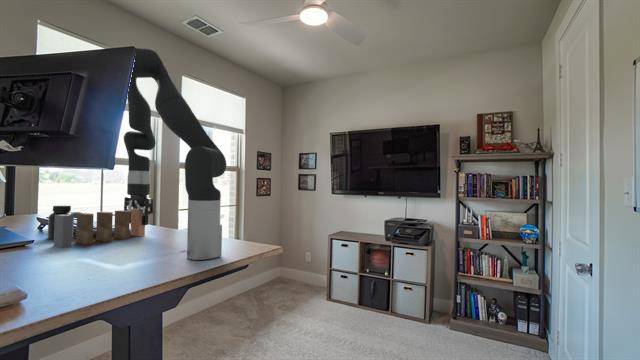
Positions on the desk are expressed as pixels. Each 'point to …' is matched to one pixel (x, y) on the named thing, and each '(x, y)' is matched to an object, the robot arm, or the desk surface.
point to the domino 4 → (137, 223)
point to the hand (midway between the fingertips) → (137, 224)
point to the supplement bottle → (57, 211)
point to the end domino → (63, 231)
